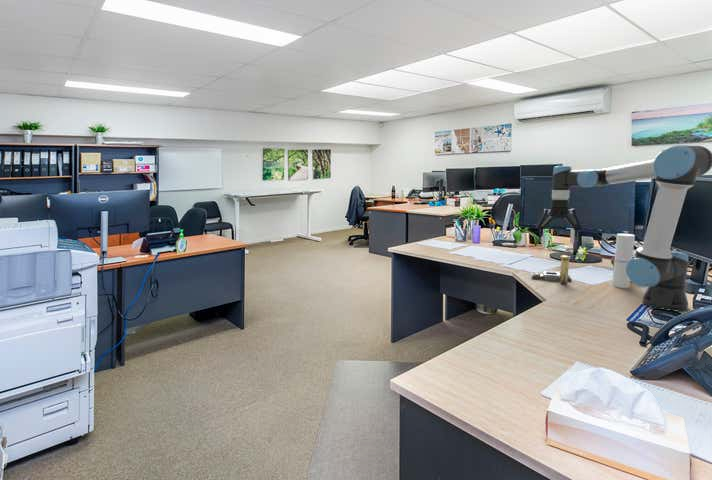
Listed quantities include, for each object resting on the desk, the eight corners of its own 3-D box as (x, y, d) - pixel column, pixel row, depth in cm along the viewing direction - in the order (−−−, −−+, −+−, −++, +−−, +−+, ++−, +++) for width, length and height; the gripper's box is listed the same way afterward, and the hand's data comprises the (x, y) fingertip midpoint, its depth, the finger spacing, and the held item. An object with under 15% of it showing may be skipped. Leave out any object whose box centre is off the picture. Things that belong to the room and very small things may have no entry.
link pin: (569, 283, 204) (572, 256, 202) (565, 285, 201) (568, 257, 199) (560, 281, 207) (562, 255, 205) (556, 283, 205) (558, 256, 202)
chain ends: (569, 278, 213) (570, 272, 213) (571, 282, 207) (572, 276, 206) (531, 275, 219) (532, 270, 219) (532, 279, 213) (532, 273, 212)
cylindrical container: (608, 284, 202) (613, 234, 197) (619, 283, 204) (624, 233, 199) (621, 288, 195) (626, 236, 190) (633, 287, 197) (638, 235, 192)
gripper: (584, 198, 198) (580, 241, 202) (530, 198, 200) (528, 241, 204) (591, 199, 191) (587, 244, 194) (535, 199, 193) (532, 244, 197)
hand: (557, 243), depth 199 cm, fingers open, 13 cm apart
